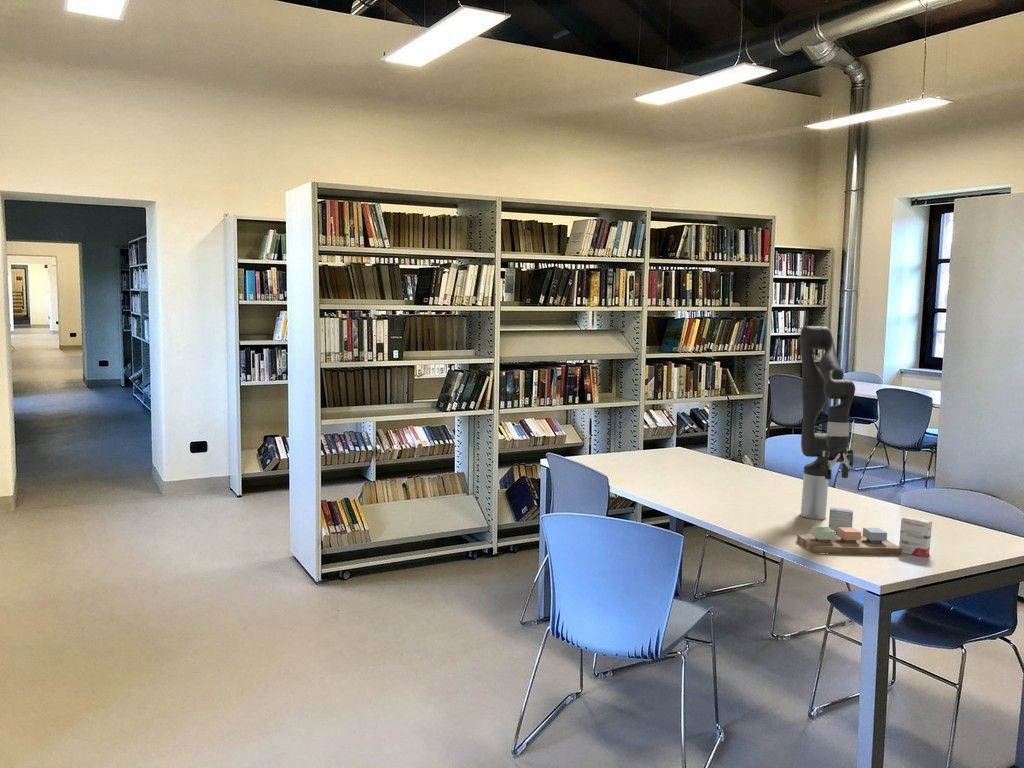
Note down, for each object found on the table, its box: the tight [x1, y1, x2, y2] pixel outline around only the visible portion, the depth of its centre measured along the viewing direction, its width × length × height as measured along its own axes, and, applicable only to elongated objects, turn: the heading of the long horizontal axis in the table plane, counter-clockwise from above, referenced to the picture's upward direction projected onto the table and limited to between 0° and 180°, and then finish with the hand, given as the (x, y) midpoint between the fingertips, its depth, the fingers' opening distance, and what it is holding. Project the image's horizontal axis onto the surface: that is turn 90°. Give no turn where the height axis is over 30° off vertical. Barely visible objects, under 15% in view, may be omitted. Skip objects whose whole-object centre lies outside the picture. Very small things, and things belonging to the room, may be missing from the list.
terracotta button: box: [836, 526, 862, 540], centre depth 271 cm, size 6×6×3 cm
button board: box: [796, 534, 903, 556], centre depth 271 cm, size 14×30×4 cm, turn 92°
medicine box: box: [828, 506, 854, 534], centre depth 290 cm, size 8×4×9 cm, turn 66°
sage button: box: [811, 526, 836, 540], centre depth 270 cm, size 6×6×3 cm
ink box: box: [898, 516, 933, 558], centre depth 267 cm, size 8×5×12 cm, turn 47°
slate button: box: [862, 527, 888, 541], centre depth 271 cm, size 6×6×3 cm
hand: (836, 478), depth 288 cm, fingers open, 8 cm apart
